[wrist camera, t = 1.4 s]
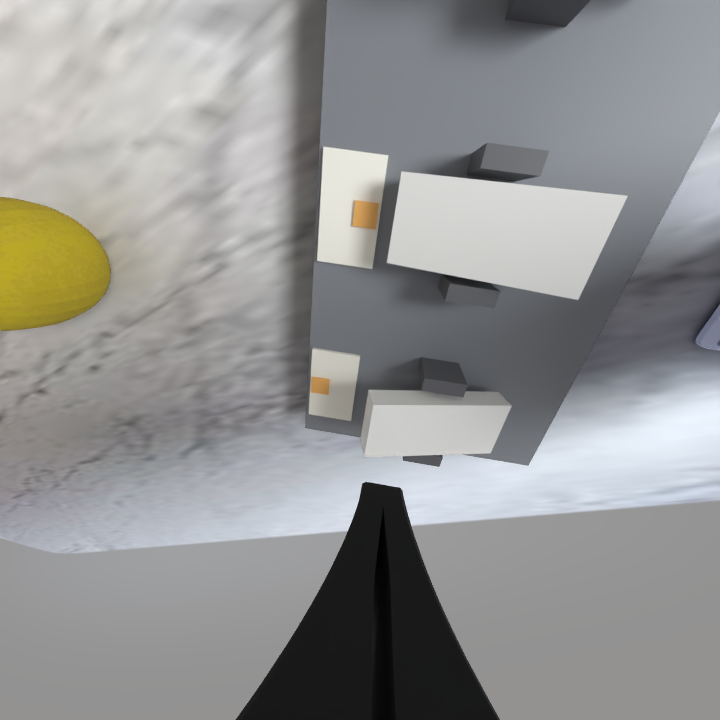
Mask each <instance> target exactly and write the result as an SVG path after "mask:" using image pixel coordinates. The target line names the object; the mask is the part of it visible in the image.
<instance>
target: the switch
mask: <svg viewBox="0 0 720 720" xmlns="http://www.w3.org/2000/svg"><path fill="white" fill-rule="evenodd" d="M511 407H512V405H511V404H510V403H509V402H508V401H507V400H506V399H505V398H504V397H503V396H502V395H501V394H500V393H499V392H480V391H466V392H465V395H464V397H457V396H451V395H445V394H439V393H432V392H426V391H415V390H368V396H367V402H366V408H365V414H364V420H363V426H362V433H361V439H360V441H361V446H362V450H363V455H364V457H389V456H422V455H455V454H488V453H491V451H492V449H493V447H494V445H495V442H496V440H497V438H498V436H499V433H500V431H501V429H502V427H503V424H504V422H505V420H506V418H507V415H508V413H509V411H510V409H511Z"/></svg>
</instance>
